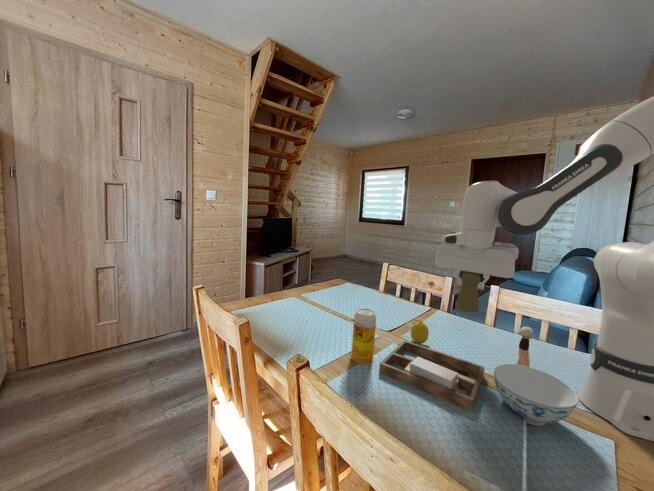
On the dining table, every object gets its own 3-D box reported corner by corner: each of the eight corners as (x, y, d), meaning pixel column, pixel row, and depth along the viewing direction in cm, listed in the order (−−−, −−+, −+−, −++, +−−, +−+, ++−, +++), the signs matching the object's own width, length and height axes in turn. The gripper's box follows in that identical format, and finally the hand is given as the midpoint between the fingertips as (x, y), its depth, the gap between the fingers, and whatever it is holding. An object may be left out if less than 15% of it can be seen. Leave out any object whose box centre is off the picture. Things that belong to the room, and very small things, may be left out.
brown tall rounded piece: (481, 313, 79) (487, 274, 78) (459, 310, 80) (463, 272, 79) (474, 305, 85) (478, 270, 84) (453, 303, 86) (457, 268, 85)
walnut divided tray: (482, 380, 75) (484, 366, 75) (471, 417, 62) (473, 400, 61) (402, 352, 88) (404, 340, 87) (378, 377, 74) (379, 363, 74)
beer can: (347, 363, 80) (351, 313, 78) (355, 354, 85) (359, 306, 83) (368, 370, 77) (372, 318, 75) (375, 360, 82) (379, 311, 80)
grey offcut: (456, 381, 68) (457, 372, 68) (450, 389, 65) (451, 381, 64) (417, 364, 75) (417, 356, 74) (409, 371, 71) (410, 363, 71)
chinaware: (535, 393, 71) (539, 364, 70) (592, 443, 56) (599, 407, 55) (476, 391, 71) (480, 362, 69) (519, 441, 56) (524, 405, 55)
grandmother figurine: (532, 377, 78) (539, 333, 76) (515, 373, 80) (522, 330, 78) (526, 363, 85) (532, 323, 83) (511, 360, 87) (517, 320, 85)
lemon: (429, 349, 91) (432, 325, 90) (412, 348, 91) (414, 324, 90) (424, 340, 96) (426, 318, 95) (407, 339, 96) (410, 317, 95)
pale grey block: (457, 388, 69) (458, 379, 69) (453, 397, 65) (454, 389, 65) (410, 369, 76) (410, 361, 76) (403, 377, 72) (404, 369, 72)
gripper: (520, 243, 77) (513, 292, 79) (441, 235, 88) (436, 278, 90) (519, 245, 71) (511, 298, 73) (436, 236, 83) (431, 282, 85)
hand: (469, 287), depth 82 cm, fingers closed on brown tall rounded piece, 4 cm apart
